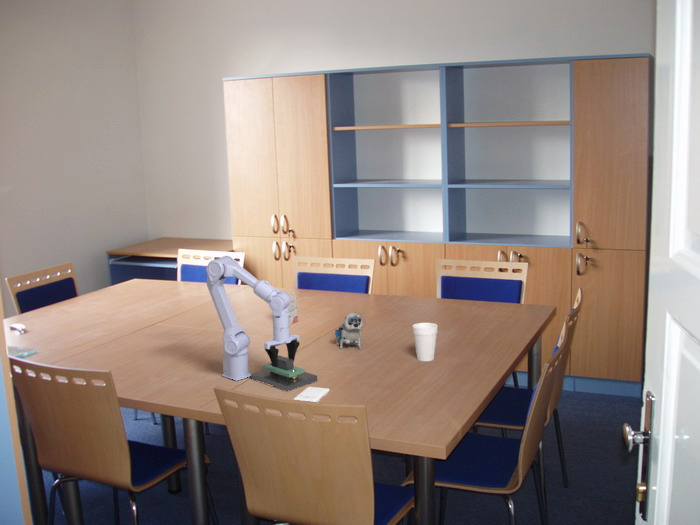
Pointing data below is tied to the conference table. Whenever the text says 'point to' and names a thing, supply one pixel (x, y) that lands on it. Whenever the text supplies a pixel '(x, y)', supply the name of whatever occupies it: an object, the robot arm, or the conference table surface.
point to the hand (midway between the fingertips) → (283, 363)
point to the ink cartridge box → (293, 308)
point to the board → (283, 372)
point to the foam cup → (425, 340)
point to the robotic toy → (350, 330)
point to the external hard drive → (312, 394)
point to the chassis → (284, 379)
